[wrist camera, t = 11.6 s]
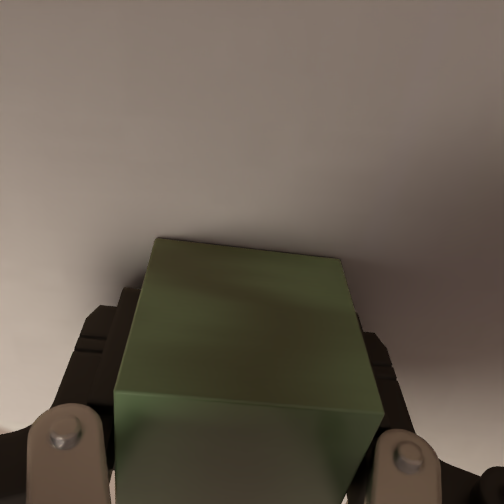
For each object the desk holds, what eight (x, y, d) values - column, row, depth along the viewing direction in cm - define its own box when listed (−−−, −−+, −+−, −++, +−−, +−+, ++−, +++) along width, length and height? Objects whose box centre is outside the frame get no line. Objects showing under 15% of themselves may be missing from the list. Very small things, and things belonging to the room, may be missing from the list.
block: (149, 367, 14) (115, 531, 10) (154, 237, 12) (112, 391, 8) (302, 380, 15) (323, 542, 11) (340, 258, 12) (386, 414, 8)
